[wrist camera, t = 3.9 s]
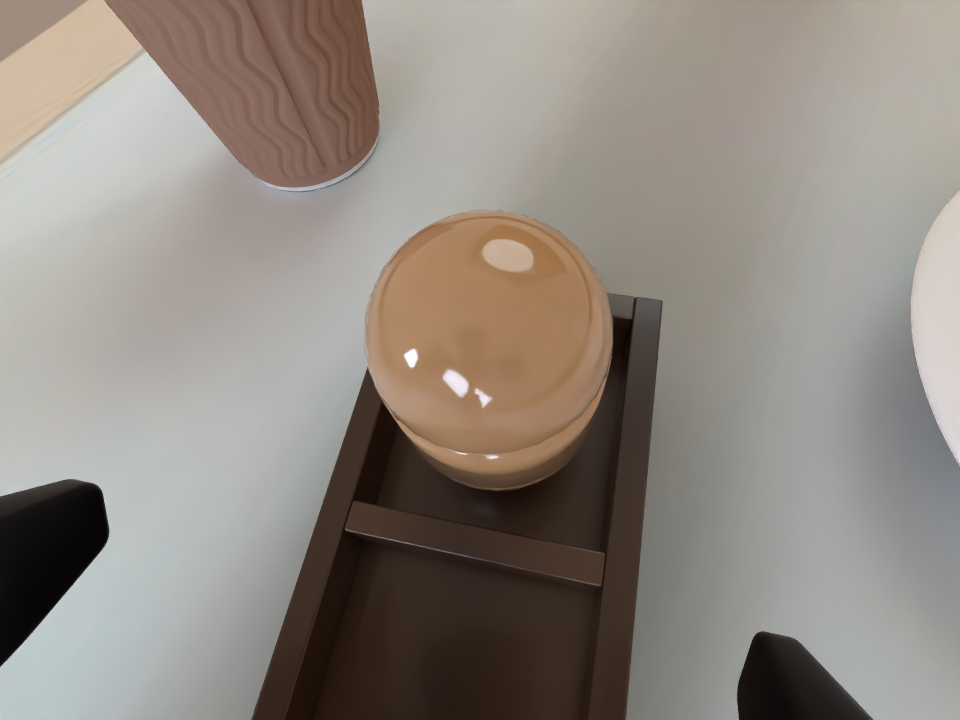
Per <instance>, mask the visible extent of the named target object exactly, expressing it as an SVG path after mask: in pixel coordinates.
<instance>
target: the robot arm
mask: <svg viewBox="0 0 960 720" xmlns="http://www.w3.org/2000/svg"><path fill="white" fill-rule="evenodd" d="M108 537H109V525H108V520H107V514H106V509H105V503H104V498H103V493H102V490H101V489H100V488H99V486H97V485H95V484H93V483H89V482H84V481H80V480H74V479H67V480H62V481H59V482H55V483H51V484H47V485H43V486H39V487H35V488H32V489H28V490H24V491H20V492H16V493H12V494H8V495H4V496H1V497H0V667H1V666H2V665H3V664H4V663H5V661H6V660H7V659H8V658H9V657H10V656H11V655H12V654H13V653H14V652H15V651H16V650H17V649H18V648H19V647H20V646H21V645H22V644H23V642H24V641H25V640H26V639H27V638H28V637H29V636H30V634H31V633H32V632H33V631H34V630H35V629H36V628H37V626H38V625H39V624H40V623H41V622H42V620H43V619H44V618H45V617H46V616H47V615H48V613H49V612H50V611H51V610H52V609H53V607H54V606H55V605H56V604H57V603H58V601H59V600H60V599H61V598H62V597H63V596H64V594H65V593H66V592H67V591H68V590H69V588H70V587H71V586H72V585H73V584H74V583H75V581H76V580H77V579H78V578H79V577H80V575H81V574H82V573H83V572H84V571H85V569H86V568H87V567H88V566H89V565H90V564H91V562H92V561H93V560H94V559H95V558H96V556H97V555H98V554H99V553H100V552H101V550H102V549H103V548H104V546H105V544H106V543H107V540H108ZM737 704H738V713H739V720H873V719H872V718H871V717H870V716H869V715H868V713H867V712H866V711H865V710H864V709H863V708H862V707H861V706H860V705H859V704H858V703H857V702H856V701H855V700H854V699H853V698H852V697H851V696H850V695H849V694H848V692H847V691H846V690H845V689H844V688H843V687H842V686H841V685H840V684H839V683H838V682H837V681H836V680H835V679H834V678H833V677H832V676H831V675H830V674H829V673H828V671H827V670H826V669H825V668H824V667H823V666H822V665H821V664H820V663H819V662H818V661H817V660H816V659H815V658H814V657H813V656H812V655H811V654H810V653H809V652H808V650H807V649H806V648H805V647H804V646H803V645H802V644H801V643H800V642H798V641H797V640H795V639H793V638H791V637H787V636H782V635H778V634H773V633H769V632H763V631H762V632H758V633H757V634H756V635H755V636H754V638H753V640H752V642H751V645H750V648H749V651H748V654H747V657H746V661H745V664H744V667H743V670H742V673H741V676H740V679H739V682H738V689H737Z"/></svg>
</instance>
